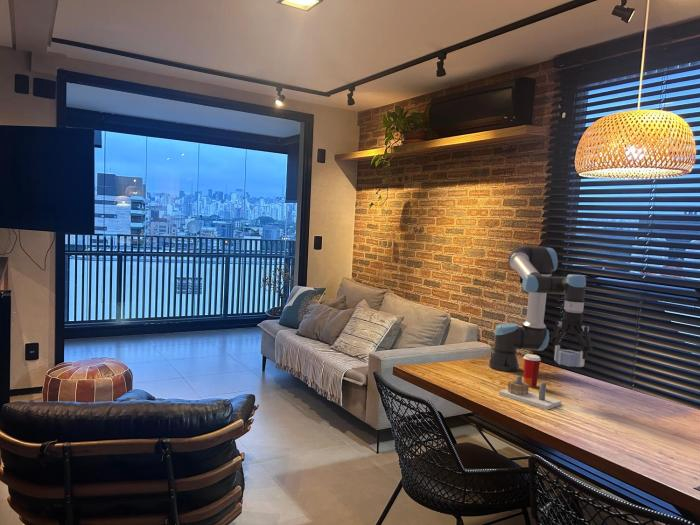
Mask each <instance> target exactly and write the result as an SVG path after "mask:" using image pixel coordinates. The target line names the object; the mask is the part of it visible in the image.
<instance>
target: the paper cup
mask: <svg viewBox="0 0 700 525" xmlns="http://www.w3.org/2000/svg"><path fill="white" fill-rule="evenodd" d="M522 358H523V382H524V383H528V385H529V388H537V383H538V378H539V371H540V364H541V363H540V362H541V361H542V359H541V357H540V356H539V355H537V354H531V353H530V354H529V353H527V354H524V356H523V357H522Z"/></svg>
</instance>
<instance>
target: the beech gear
mask: <svg viewBox="0 0 700 525" xmlns="http://www.w3.org/2000/svg"><path fill="white" fill-rule="evenodd" d="M529 388H530V387H529V385H528V383H524V381H522V384H521V385H520V384H516V380H510V381H508V384H507V389H508V391H509V393H513V394H515V395H525V394H527V395H528V391H529Z"/></svg>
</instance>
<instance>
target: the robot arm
mask: <svg viewBox="0 0 700 525" xmlns="http://www.w3.org/2000/svg"><path fill="white" fill-rule="evenodd" d="M556 252H557V251H556V250H555V249H554V248H552V247H546V246H527V245H524V246H523V245H522V246H518V247H516V248H514V249H512V251H511V252H510V253H509V256H508V257H507V258H508V264H509V266H510V268H511V269H512V270H514V271H516V272H517V273H518V275H519V276H520V278H521V279H522V289H523V291H524V292H527V293H528V299H527V308H526V309H527V310H526V318H525V320H524V321H523V322H522V326H520V325H519V324H518V323H515V322H514V323H513V322H512V323H511V322H507V323H499V324H496V326H495V330H494V339H493V340H494V341H493V352H492V355H491V356H490V359H489V362H488V367H490V368H491V369H493V370H497V371H500V372H519V370H520V364H519V361H518V356H517V351H518V350H522V351H523V350H524V351H525V350H526V351H535V352H536V351H544V350H545V349H546V348H547V347H548V345H549V343H550V344H552V346H553V347H552V352H553V353H554V355H553V356H554V357H553V358H554V359H553V361H556V350H560V349H561V345H560V343H561V341H562V340H563V338H564V337H565V336H566V334H573V335H575V337H576V338H577V340H578V344H579V345H580V347H581V349H582V350H580V352H581V353H580V364H579V368H582V367H585V360H586V359H588V352H589V351H593V349H594V348H593V343H592V339H591V335H590V334H591V333H590V329H591V328H590V326H589V325H588V326H585V325H583V321H584V320H583V318H584V306H585V296H586V286H587V277H586V276H585V275H583V274H582V275H581V274H567V275H566V276H552V274H553V272H554V271H556V270H557V269H558V265H559V263H558V261H559V260H558V255H557V253H556ZM547 294H552V295H564V304H563V309H564V310H563V316H562V321H560V320H557V321H555V323H554V328H553V331H552V333H551V335H550V332H549V329H547V326H546V324H545V323H544V320H545V312H546V302H547ZM561 327H562V328H563V329H562V330H561V332H560V333H559V331H560V329H561ZM581 330H582V331H583V334H582V331H581ZM583 335H584V337H583Z"/></svg>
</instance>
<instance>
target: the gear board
mask: <svg viewBox="0 0 700 525" xmlns="http://www.w3.org/2000/svg"><path fill="white" fill-rule="evenodd" d="M515 381H516V384H520V385H521V384H522V382H523V376H521V375H516V376H515ZM538 392H539V393H537V392H533V391H529V390H528V395H527V394H525V395H515V394H513V393H509V391H508V388H506V389H501V390H499V391H498V395H500V396H501V397H502V396H503V397H506V398H508V399H511V400H515V401H518V402H521V403H524V404H527V405H530V406H531V405H532V406H534V407H537V408H541V409H544V410H545V411H547V410H550V409H553V408H555V407H558V406H560V405H562V400H559V399H556V398H552V397H550V396H546V392H547V383H546V382H542V381H540V382H539V391H538Z"/></svg>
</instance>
